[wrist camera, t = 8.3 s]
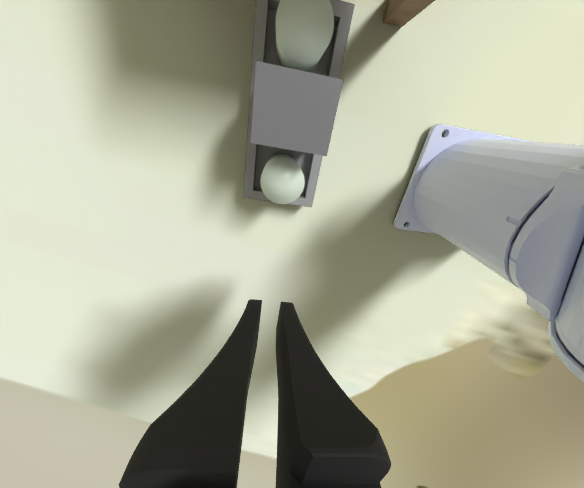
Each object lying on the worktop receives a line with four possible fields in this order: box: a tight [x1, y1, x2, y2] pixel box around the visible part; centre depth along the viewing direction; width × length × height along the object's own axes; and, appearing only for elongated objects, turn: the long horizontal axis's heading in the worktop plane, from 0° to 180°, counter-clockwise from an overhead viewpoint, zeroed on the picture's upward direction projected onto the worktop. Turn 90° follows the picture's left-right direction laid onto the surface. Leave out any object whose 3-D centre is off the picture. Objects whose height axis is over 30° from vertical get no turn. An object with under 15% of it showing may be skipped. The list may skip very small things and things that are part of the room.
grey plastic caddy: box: [244, 0, 355, 207], centre depth 13 cm, size 5×11×6 cm, turn 171°
